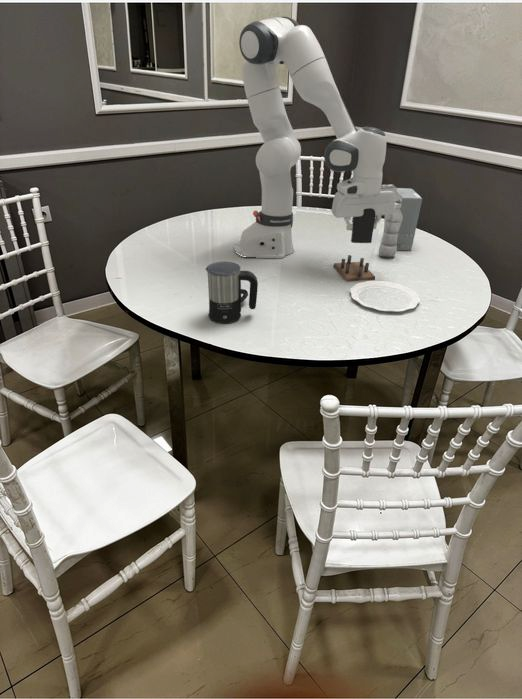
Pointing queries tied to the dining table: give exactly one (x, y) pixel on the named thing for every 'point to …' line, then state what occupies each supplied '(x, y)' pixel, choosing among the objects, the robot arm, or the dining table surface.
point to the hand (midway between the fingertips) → (361, 229)
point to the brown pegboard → (354, 270)
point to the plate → (388, 285)
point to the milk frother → (228, 291)
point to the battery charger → (363, 227)
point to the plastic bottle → (391, 232)
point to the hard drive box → (408, 217)
